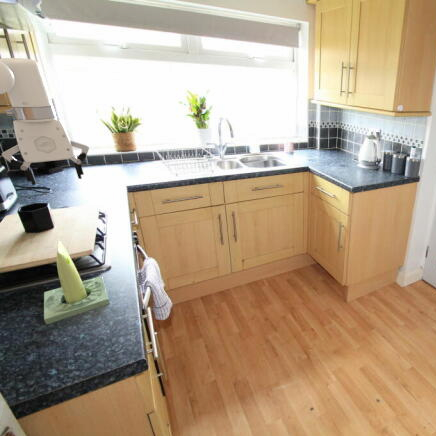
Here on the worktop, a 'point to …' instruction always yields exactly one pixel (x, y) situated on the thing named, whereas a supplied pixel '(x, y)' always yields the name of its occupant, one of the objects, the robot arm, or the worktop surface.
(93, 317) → the worktop surface
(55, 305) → the base pad
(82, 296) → the yellow-green tapered cone
